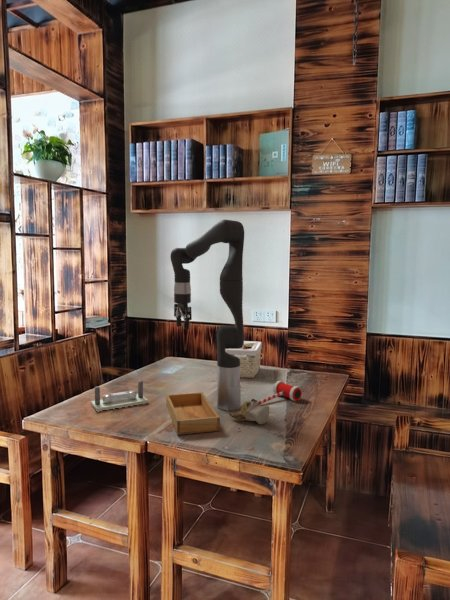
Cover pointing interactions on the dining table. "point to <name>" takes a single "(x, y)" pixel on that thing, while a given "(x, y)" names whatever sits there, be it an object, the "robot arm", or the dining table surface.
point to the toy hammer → (284, 392)
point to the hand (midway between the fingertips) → (182, 327)
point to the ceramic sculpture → (252, 412)
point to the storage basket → (248, 358)
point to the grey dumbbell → (119, 397)
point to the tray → (192, 413)
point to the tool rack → (100, 406)
